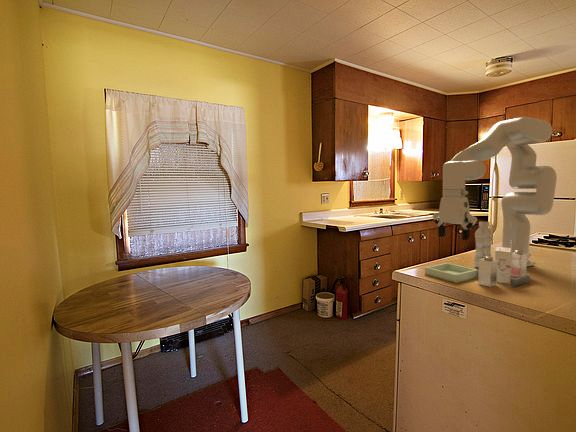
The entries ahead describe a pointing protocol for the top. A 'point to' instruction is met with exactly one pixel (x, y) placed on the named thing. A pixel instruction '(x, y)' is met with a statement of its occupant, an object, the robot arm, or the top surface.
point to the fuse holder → (489, 270)
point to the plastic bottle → (482, 242)
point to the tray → (451, 272)
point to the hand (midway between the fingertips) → (453, 237)
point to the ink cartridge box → (504, 264)
